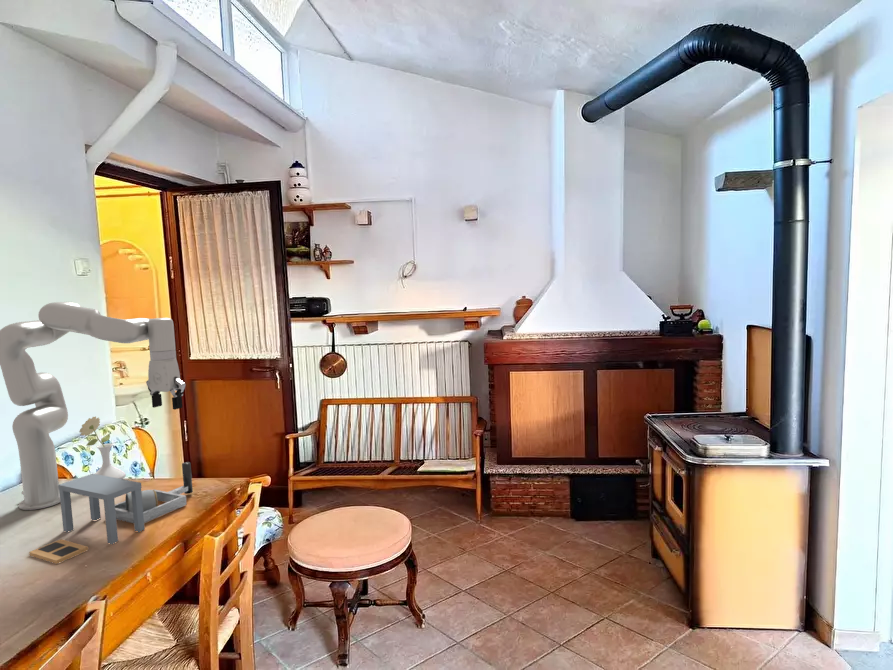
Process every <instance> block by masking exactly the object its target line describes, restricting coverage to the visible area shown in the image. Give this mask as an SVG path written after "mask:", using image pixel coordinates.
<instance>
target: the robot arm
mask: <svg viewBox="0 0 893 670" xmlns="http://www.w3.org/2000/svg"><path fill="white" fill-rule="evenodd" d="M68 333H75V334H76V333H77V334H82V335H88V336H90V337H93V338H95V339H98V340H102V341H108V342H113V343H118V344H133V343H138V342H142V341H143V342H144V341H146V340H147V341H148V344H149V345H148V348H149V357H150V360H149V362H148V373H147V376H148V378H147V379H148V380H146V381H145V384H146V387H147V390H148V391H149V395H150V396H151V404H152V408H159V407H162V406H163V400H162V394H161V392H164V393H168V392H170V393H171V395H172V397H171V400H172V401H171V402H172V409H173V410H174V411H175V410H179V409H182V408H183V398H182V397H183V396H184V392H185V388H186V385H187V384H186V383H185V382H184V381H183V380H181V373H180V369H179V368H180V367H179V363H178V360H177V351H176V339H175V326H174V321H173V319H172V318H170V317H155V318H148V317H147V318H146V317H137V318H136V317H135V318H126V319H123V318H117V317H110V316H107V315H106V316H105V315H102V314H101V312H100V311H99V309H95V308H90V307H84V306H81V305H80V304H79V303H76V302H73V301H56V302H50V303H49V302H48V303H46V304H44V305H43V306H42V307H41V308H40V309H39V311H38V320H26V321H19V322H18V321H17V322H14V323H9V324H7V325H6V326H3V327H2V328H1V329H0V369H1V373H2V377H3V379H4V380H3V381H4V384H5V386H6V391H7V394H8V397H9V400H10V401H11V402H12V403H13V404H14V405H16V406H18V407H26V406H30V405H33V404H34V405H35V407H32V408H30V409H29V408H28V409H26V410H24V411H22V412H21V413H19V414H17V415H16V417H15V418H14V419H13V421H12V433H13V435H14V438H15V441H16V443H17V444H16V445H17V449H18V455H19V466H20V473H21V482H22V483H21V484H22V491H21V495H23V500H21V501H20V502H18V508H19V509H20V510H24V511H35V510H41V509H45V508H49V507H52V506H56V505H58V504H61V502H60V492H59V488H58V485H59V484H60V483H59V473H58V464H57V455H56V448H55V444H54V441H53V440H52V437H50V433H52V432H55V431H58V430H59V429H61V428H64V427H65V425H66V424H67V422H68V419H69V413H68V407H67V405H66V401H65V396H64V394H63V390H62V387H61V383H60V382H59V380H58V379H57V378H56V377H55V376H54V375H53V374H51V373H49V372H37V370H36V367H35V364H34V361H33V358H32V357H31V355H29V353H28V352H27V351H26V349H29V348H35V347H40V346H41V347H42V346H46V345H47V346H48V345H50V344H52V343H55V341H56V342H57V340H58V339H60V338H62V337H64V336H65V335H66V334H68Z"/></svg>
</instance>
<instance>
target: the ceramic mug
mask: <svg viewBox="0 0 893 670" xmlns="http://www.w3.org/2000/svg"><path fill="white" fill-rule="evenodd" d="M155 490H156V489H145V490H141V493H142V504H143V512H145V511H147V510H150V509H152V508H154V507H157V506H159V503H158V502H159V501H158V500H157V494H156V491H155ZM124 501H125V502H126V510H128V511H132V512H133V506H132V495H131V492H129V493H127V494H125V499H124Z"/></svg>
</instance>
